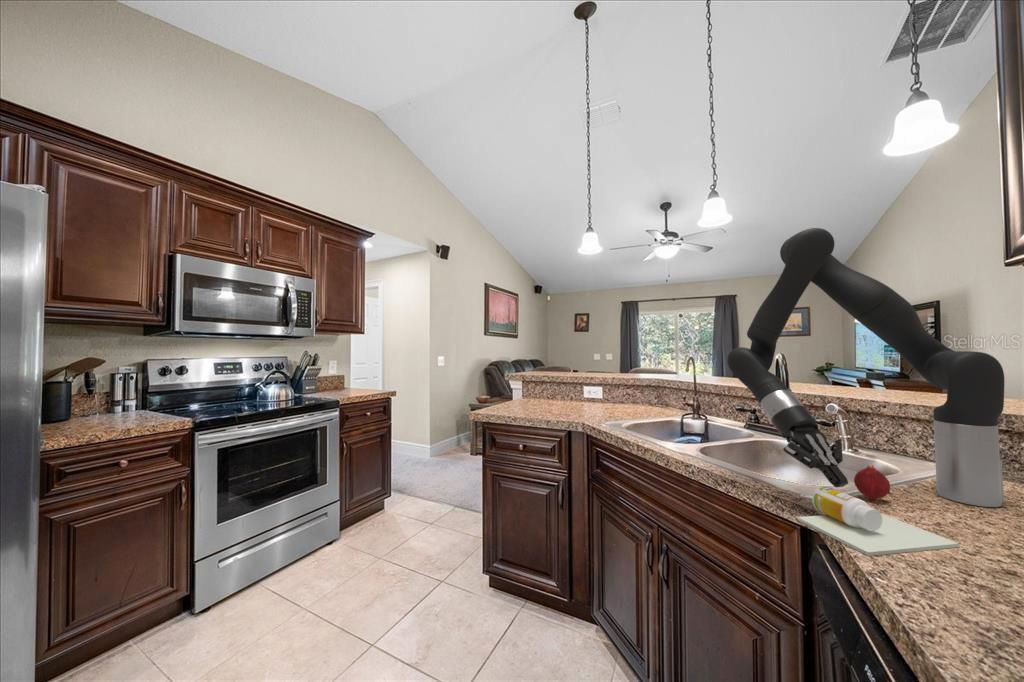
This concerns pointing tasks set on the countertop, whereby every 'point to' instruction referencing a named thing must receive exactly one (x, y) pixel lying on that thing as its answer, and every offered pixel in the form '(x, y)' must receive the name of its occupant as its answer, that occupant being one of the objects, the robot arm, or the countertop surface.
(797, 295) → the robot arm
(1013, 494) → the countertop surface
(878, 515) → the supplement bottle
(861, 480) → the onion
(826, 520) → the mat
